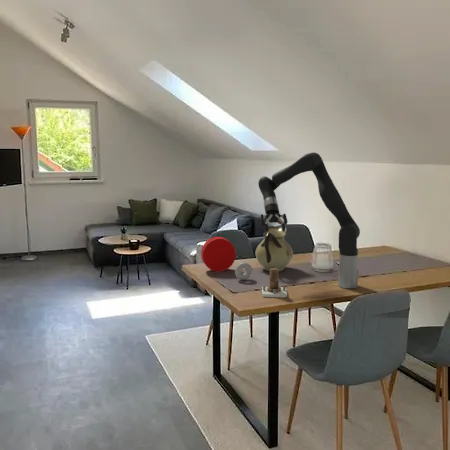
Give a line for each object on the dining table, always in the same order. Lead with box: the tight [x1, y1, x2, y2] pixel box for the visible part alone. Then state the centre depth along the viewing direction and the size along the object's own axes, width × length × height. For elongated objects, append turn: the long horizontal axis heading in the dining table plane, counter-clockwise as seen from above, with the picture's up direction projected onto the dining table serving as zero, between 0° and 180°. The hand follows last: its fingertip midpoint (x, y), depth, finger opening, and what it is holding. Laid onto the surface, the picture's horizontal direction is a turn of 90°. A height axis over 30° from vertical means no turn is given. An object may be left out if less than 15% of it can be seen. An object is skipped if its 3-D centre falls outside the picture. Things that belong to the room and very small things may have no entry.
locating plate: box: [261, 285, 288, 298], centre depth 235 cm, size 12×12×4 cm
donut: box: [234, 262, 253, 281], centre depth 259 cm, size 10×4×10 cm, turn 113°
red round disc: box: [200, 236, 237, 273], centre depth 279 cm, size 20×6×20 cm, turn 103°
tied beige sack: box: [254, 225, 294, 272], centre depth 281 cm, size 22×24×25 cm
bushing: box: [266, 268, 282, 292], centre depth 234 cm, size 7×7×11 cm
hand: (275, 230), depth 249 cm, fingers open, 8 cm apart
